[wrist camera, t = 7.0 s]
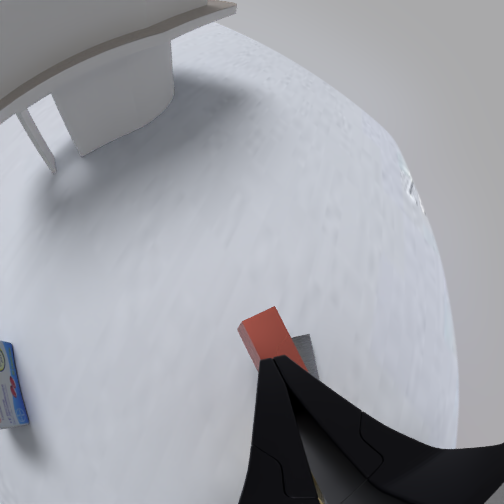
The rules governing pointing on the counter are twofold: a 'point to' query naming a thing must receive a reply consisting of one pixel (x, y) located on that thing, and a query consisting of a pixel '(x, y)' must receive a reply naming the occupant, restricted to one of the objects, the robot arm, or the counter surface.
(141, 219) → the counter surface
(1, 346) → the medicine box
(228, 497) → the counter surface
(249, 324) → the lever
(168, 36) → the architectural model
